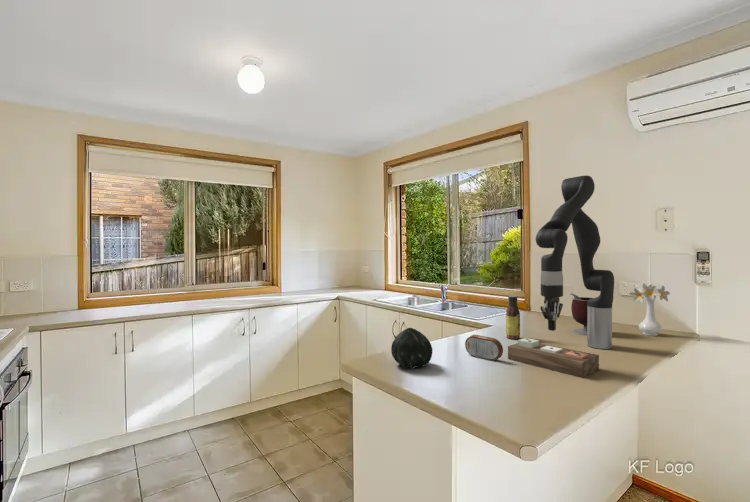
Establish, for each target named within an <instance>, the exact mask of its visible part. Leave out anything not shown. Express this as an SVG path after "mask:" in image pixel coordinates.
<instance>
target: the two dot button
mask: <svg viewBox="0 0 750 502" xmlns="http://www.w3.org/2000/svg"><path fill="white" fill-rule="evenodd" d="M517 343H518V346H523V347H527V348H535V347H538V346H539V343H540V340H538V339H532V338H528V337H524V338H519V339H517Z"/></svg>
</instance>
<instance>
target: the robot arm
mask: <svg viewBox="0 0 750 502" xmlns="http://www.w3.org/2000/svg"><path fill="white" fill-rule="evenodd" d="M560 188H561V194H562V198H563V200H564V203H563V204H561V205H560V206H558V208H557V209H555V211H554V213H553V214H552V216H551V218H550V220H549V221H547V222H546V223H545V224H544V225H543V226H541V228H539V230H538V232H536V235H535V243H536V246H538V247H539V248H541V249H553V251H552V252H551V253H550V254H544V255H542V256H541V257H540V258H541V259H540V260H541V262H540V263H541V264H540V271H541V272H540V296H541V297H544V299H543V305H542V306H541V305H540V307H539V308H540V311H541V313H542V315H543V317H544V319H545V320H547V329H548V331H556V329H557V320H558V318H560V315H561V312H562V309H563V306H564V305H563V303H561V302H560V301H561V300H560V298H562V297H563V296H564V276H563V275H564V274H563V258H564V254H565V250H566V247H567V245H568V244H567V243H568V233H567V231H568V230H569V228H570V227H571V226H572V231H573V233H572V234H573V236H574V241H575V245H576V248H577V251H578V252H577V253H578V257H579V263H580V269H581V277H582V282H583V285H584V287H585V289H587V290H588V291H595V292H599V295H598V296H596V297H591V298H592V299H589V300H588V306H587V313H588V314H587V335H586V337H587V340H586V341H587V347H590V348H594V349H600V350H609V349H610V350H611V349H612V348H613V302H614V292H615V276H614V272H612V271H611V270H608V269H595V268H594V262H593V261H594V256H595V254H596V253H597V251H598V249H599V247H600V245H601V236H600V231H599V227H598V225H597V223H596V222H595V221H594V220H593V219H592V218H591V217H590V216H589V215H588V214H586V213H585V211H584V210H583V209H582V208H583V207H584V206H585V204H586V203H587V202H588V201H589V200H590V198H592V196H593V195H594V193H595V188H596V187H595V181H594V179H593V177H592V176H590V175H580V176H573V177H568V178H565V179H563V180H562V181H561V187H560Z"/></svg>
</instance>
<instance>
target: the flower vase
mask: <svg viewBox="0 0 750 502" xmlns="http://www.w3.org/2000/svg"><path fill="white" fill-rule="evenodd" d="M657 284H658V285H653V284H649V285H647V284H646V283H642V285H641V286H642V287H639V288H636V287H635V288H634V289H633V291H634V292H632V291H630V292H629V295H630V296H632V297H633V302H634V303H638V301H639V302H640V303H642V304H644V298H645V301H646V311H645V314H646V315H645V317H644V319H643V321H640V323H639V325H638V329H639V330H640V331H641V332H642V334H643V335H645V336H650V335H651V337H652V336H653V337H654V336H655V337H656V336H657V337H658V335H659V333H662V331H663V326H662V325H661V324H660V322H658V320H657V318H656V315H655V301H656V298H657V296H659V300H660V301H662V300H665V301H666V302H669V299H668V298H669V297H668V296H670V294H671V293H670V291H668V290H666V287H665V285H660V283H657ZM657 286H658V287H657ZM643 297H644V298H643Z"/></svg>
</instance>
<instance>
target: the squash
mask: <svg viewBox="0 0 750 502" xmlns="http://www.w3.org/2000/svg"><path fill="white" fill-rule="evenodd" d="M390 347H391V350H390V351H391V356H392V358H393V359H394V360H395V362H396V363H398V365H400V366H401V367H402V368H403V369H406V368H405V367H407V368H409V369H411V368H413V369H414V368H418V367H419V368H423V367H424V366H426V365H428V364H429V363H430V362H431V360H432V357H433V351H434V350H433V346H432V343H431V342H430V340H429V338H427V336H425V334H423V333H422V332H421V331H419V330H418V329H415V328H413V327H407V328H405V329H404V330H402V331H401V332H399V333H398V334H397V335H396V337H394V339H393V341H392V343H391V346H390Z"/></svg>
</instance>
